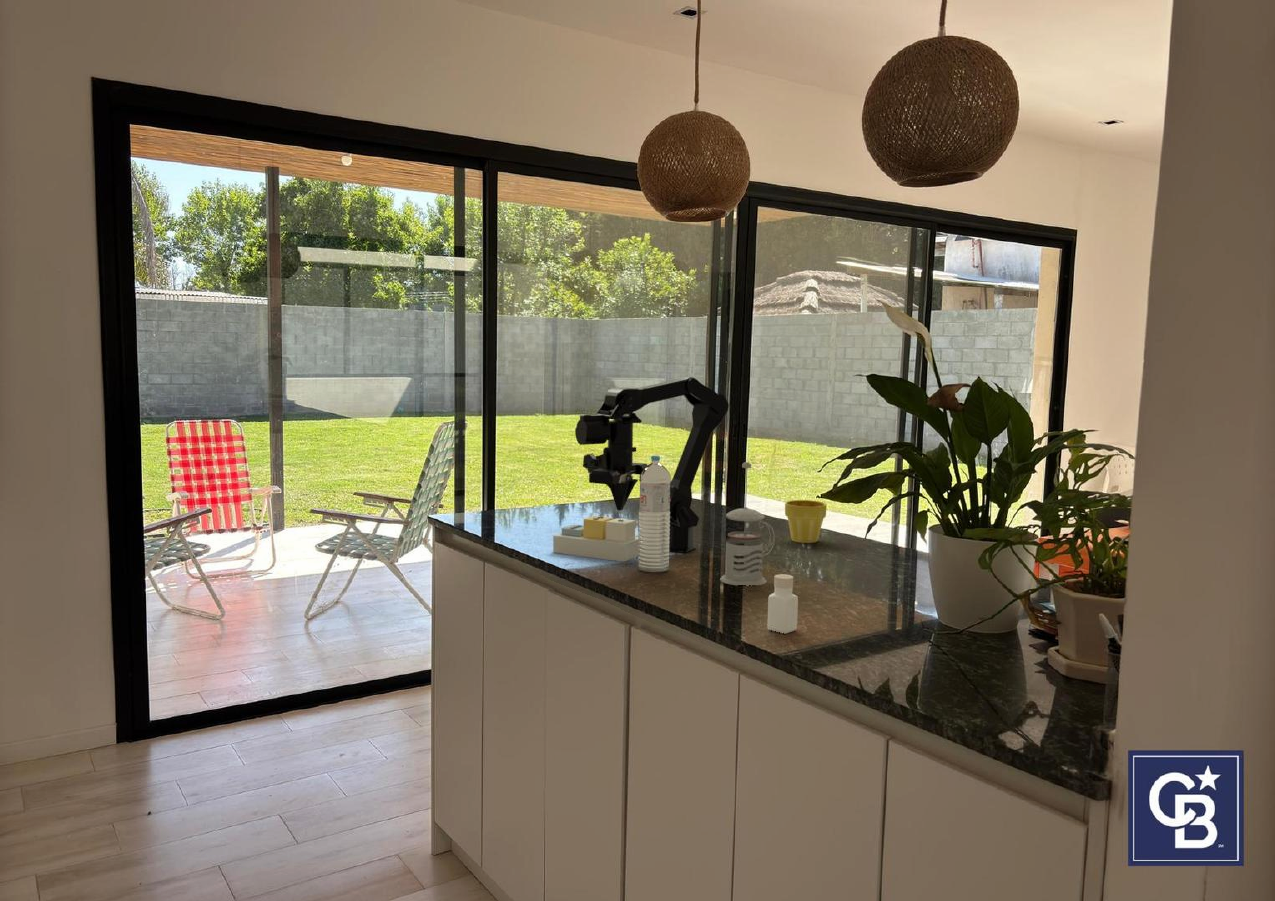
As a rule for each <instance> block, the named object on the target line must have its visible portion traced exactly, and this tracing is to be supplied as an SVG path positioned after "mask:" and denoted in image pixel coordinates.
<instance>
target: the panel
mask: <svg viewBox="0 0 1275 901" xmlns="http://www.w3.org/2000/svg"><path fill="white" fill-rule="evenodd" d="M561 534H562V532H561V533H557V534H555V535H552V538H553V539H552V540H553V543H552V546H553V548H552V551H553V553H555V552H556V554H564V555H572V556H578V557H586V558H593V559H600V560H601V559H602V560H608V561H609V560H610V561H615V560H616V562H617V561H618V562H623V563H625V562H627V561H630V560H632V559H635V558H638V544H639V543H638V540H639V539H638V536H635V539H634V540H632V541H629V542H626V543H624V542H616V541H608V540H606V539H604V540H599V539H591V538H583V536H582V537H575V536H567V535H561Z"/></svg>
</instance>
